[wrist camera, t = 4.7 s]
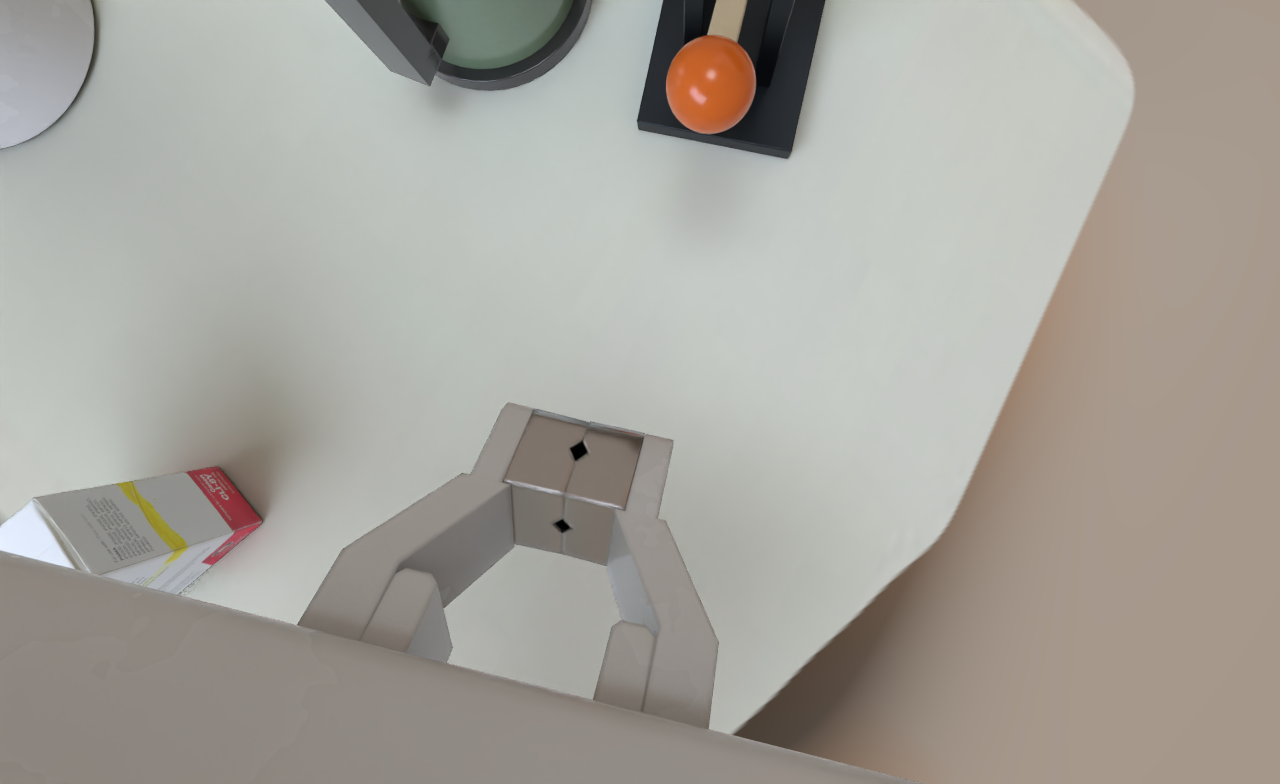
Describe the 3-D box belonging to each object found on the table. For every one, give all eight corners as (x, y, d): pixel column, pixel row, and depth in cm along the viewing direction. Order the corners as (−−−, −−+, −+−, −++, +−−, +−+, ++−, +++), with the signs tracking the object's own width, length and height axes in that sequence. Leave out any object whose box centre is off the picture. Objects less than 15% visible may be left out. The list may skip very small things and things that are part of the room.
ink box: (219, 460, 41) (29, 491, 29) (267, 523, 40) (96, 580, 29) (118, 544, 41) (-110, 608, 29) (164, 606, 41) (-46, 695, 29)
